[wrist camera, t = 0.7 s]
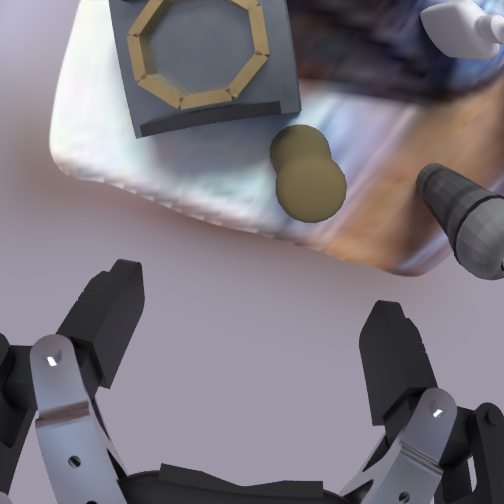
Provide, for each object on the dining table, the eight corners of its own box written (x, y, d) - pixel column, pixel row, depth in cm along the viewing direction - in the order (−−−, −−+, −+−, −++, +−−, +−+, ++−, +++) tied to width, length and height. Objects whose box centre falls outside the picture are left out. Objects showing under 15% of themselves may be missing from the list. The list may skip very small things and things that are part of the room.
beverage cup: (460, 203, 32) (559, 318, 15) (409, 217, 33) (493, 352, 17) (456, 146, 28) (583, 242, 11) (400, 158, 30) (514, 274, 13)
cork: (322, 186, 32) (343, 241, 23) (265, 176, 32) (262, 228, 23) (336, 131, 29) (367, 165, 20) (275, 119, 29) (278, 146, 19)
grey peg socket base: (278, -33, 20) (281, -58, 14) (300, 109, 28) (309, 121, 22) (125, 0, 22) (91, -10, 16) (151, 132, 30) (123, 151, 24)
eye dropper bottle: (451, 9, 20) (524, 0, 10) (460, 57, 23) (535, 69, 13) (416, 5, 20) (484, -12, 10) (426, 56, 23) (497, 62, 13)
